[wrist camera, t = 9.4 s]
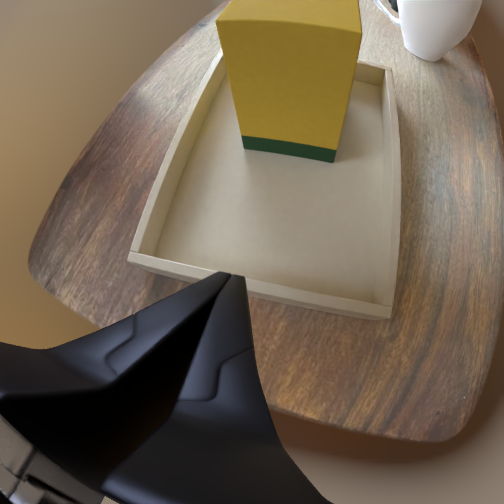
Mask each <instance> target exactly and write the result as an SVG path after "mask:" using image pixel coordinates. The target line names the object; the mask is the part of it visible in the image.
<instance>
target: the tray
mask: <svg viewBox="0 0 504 504" xmlns="http://www.w3.org/2000/svg"><path fill="white" fill-rule="evenodd" d="M400 226H401V152H400V136H399V123H398V113H397V103H396V95H395V88H394V81H393V74H392V69H391V68H390V67H386V66H383V65H379V64H375V63H371V62H367V61H363V60H357V65H356V70H355V74H354V79H353V84H352V89H351V93H350V98H349V102H348V106H347V111H346V115H345V119H344V123H343V128H342V132H341V136H340V140H339V144H338V148H337V152H336V155H335V159H334V163H328V162H323V161H318V160H313V159H307V158H302V157H296V156H290V155H283V154H277V153H270V152H263V151H256V150H248V149H244V147H243V143H242V138H241V133H240V129H239V124H238V120H237V115H236V110H235V106H234V101H233V97H232V92H231V88H230V83H229V79H228V74H227V70H226V65H225V61H224V57H223V52H222V48H221V49H220V50H219V52H218V53H217V55H216V57H215V59H214V60H213V62H212V64H211V65H210V67H209V69H208V71H207V73H206V74H205V76H204V78H203V80H202V82H201V83H200V85H199V87H198V89H197V91H196V93H195V95H194V97H193V99H192V101H191V103H190V105H189V107H188V109H187V111H186V113H185V115H184V117H183V119H182V121H181V123H180V125H179V127H178V129H177V131H176V134H175V136H174V138H173V140H172V142H171V144H170V147H169V149H168V151H167V154H166V156H165V158H164V161H163V163H162V165H161V168H160V170H159V172H158V175H157V177H156V180H155V182H154V185H153V187H152V190H151V193H150V195H149V198H148V200H147V203H146V206H145V208H144V211H143V214H142V217H141V220H140V222H139V225H138V228H137V231H136V234H135V237H134V240H133V243H132V246H131V249H130V251H131V252H130V253H129V256H128V259H127V261H128V262H130V263H132V264H134V265H135V266H137V267H139V268H141V269H143V270H145V271H148V272H152V273H156V274H160V275H163V276H167V277H171V278H175V279H179V280H183V281H187V282H191V283H196V282H198V281H200V280H202V279H204V278H206V277H208V276H210V275H212V274H214V273H216V272H218V271H223V272H227V273H231V274H236V275H241V276H245V278H246V285H247V293H248V296H250V297H255V298H259V299H264V300H269V301H273V302H278V303H283V304H287V305H292V306H297V307H302V308H307V309H312V310H317V311H322V312H328V313H333V314H338V315H344V316H349V317H355V318H360V319H366V320H372V321H378V320H384V319H390V318H391V313H392V306H393V301H394V294H395V286H396V277H397V268H398V257H399V244H400Z"/></svg>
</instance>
